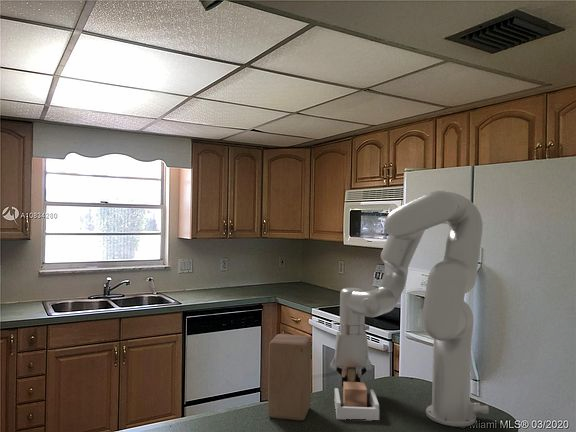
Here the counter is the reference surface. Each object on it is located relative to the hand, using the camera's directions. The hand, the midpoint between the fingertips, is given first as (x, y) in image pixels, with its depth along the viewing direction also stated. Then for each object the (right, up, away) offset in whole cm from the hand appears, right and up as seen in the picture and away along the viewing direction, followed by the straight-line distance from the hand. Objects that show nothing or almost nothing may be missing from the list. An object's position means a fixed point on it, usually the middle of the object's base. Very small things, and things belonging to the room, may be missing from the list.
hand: (350, 388), depth 144 cm
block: (0, -1, -6) cm, 6 cm away
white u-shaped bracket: (-1, -1, -16) cm, 16 cm away
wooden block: (-19, 0, -17) cm, 25 cm away
